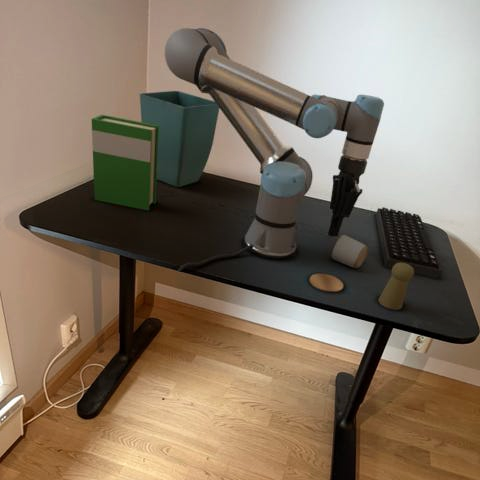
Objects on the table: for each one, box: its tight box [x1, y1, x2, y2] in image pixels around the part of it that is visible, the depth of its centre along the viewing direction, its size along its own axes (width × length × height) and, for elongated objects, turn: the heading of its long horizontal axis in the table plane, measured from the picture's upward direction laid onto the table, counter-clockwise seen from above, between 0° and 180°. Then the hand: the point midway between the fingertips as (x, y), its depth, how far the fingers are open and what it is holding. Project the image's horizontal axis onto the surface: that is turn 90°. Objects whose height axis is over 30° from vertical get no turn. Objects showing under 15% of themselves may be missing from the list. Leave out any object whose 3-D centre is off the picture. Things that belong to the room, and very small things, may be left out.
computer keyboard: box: [375, 206, 443, 280], centre depth 150 cm, size 45×16×4 cm, turn 169°
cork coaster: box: [309, 273, 344, 293], centre depth 119 cm, size 9×9×1 cm
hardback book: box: [91, 114, 159, 211], centre depth 139 cm, size 18×7×24 cm, turn 81°
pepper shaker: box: [378, 263, 415, 311], centre depth 113 cm, size 6×6×11 cm
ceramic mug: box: [331, 234, 369, 269], centre depth 130 cm, size 11×8×8 cm
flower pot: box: [139, 90, 220, 188], centre depth 161 cm, size 20×20×28 cm
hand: (332, 235), depth 139 cm, fingers closed
